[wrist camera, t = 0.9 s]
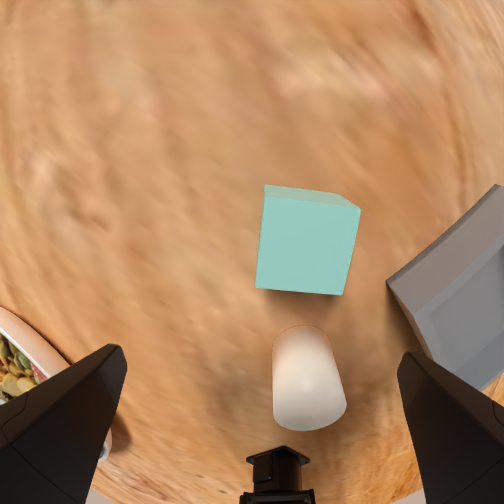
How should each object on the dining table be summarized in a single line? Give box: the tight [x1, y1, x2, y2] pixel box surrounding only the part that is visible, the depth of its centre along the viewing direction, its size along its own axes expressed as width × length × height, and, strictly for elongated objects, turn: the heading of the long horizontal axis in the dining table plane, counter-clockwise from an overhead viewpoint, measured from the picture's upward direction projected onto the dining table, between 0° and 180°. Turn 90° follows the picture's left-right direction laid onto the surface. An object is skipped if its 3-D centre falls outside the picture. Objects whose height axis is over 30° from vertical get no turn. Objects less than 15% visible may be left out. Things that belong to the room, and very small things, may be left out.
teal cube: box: [255, 185, 361, 295], centre depth 17 cm, size 5×5×5 cm
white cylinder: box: [272, 325, 347, 431], centre depth 20 cm, size 5×5×7 cm
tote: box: [386, 184, 504, 392], centre depth 18 cm, size 18×14×5 cm
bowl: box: [0, 307, 112, 462], centre depth 25 cm, size 30×30×8 cm
